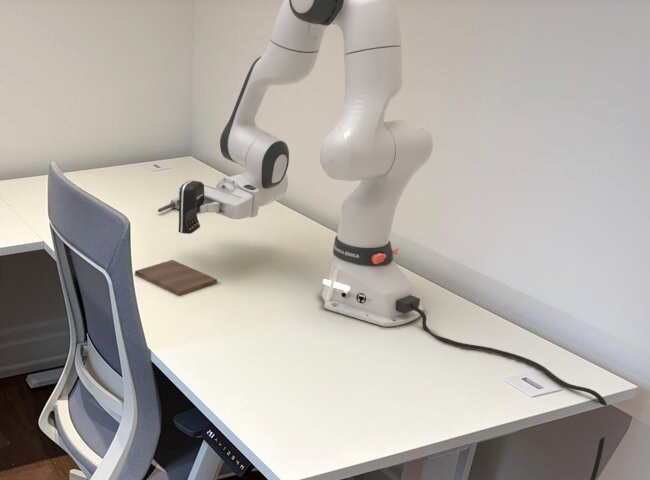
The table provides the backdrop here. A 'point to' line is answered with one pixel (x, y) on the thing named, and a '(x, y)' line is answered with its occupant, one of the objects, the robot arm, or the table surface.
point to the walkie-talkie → (171, 205)
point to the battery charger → (190, 206)
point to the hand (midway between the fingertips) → (190, 206)
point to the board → (175, 277)
